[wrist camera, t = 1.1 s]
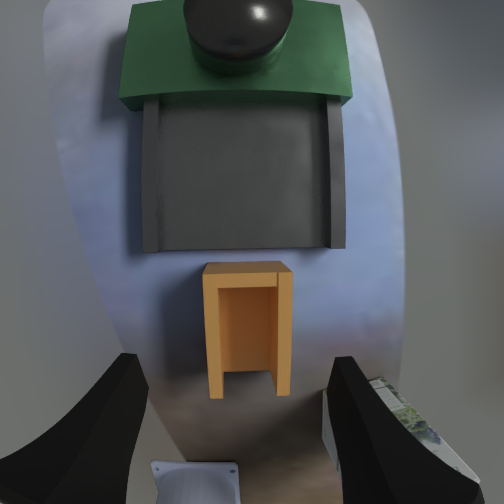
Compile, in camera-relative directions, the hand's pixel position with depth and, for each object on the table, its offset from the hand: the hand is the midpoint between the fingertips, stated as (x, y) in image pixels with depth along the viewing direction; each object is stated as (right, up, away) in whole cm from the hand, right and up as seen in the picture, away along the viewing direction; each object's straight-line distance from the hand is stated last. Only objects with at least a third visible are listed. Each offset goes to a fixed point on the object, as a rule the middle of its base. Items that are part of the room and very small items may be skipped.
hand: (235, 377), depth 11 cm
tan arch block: (0, 0, +12) cm, 12 cm away
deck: (-1, +14, +10) cm, 17 cm away
